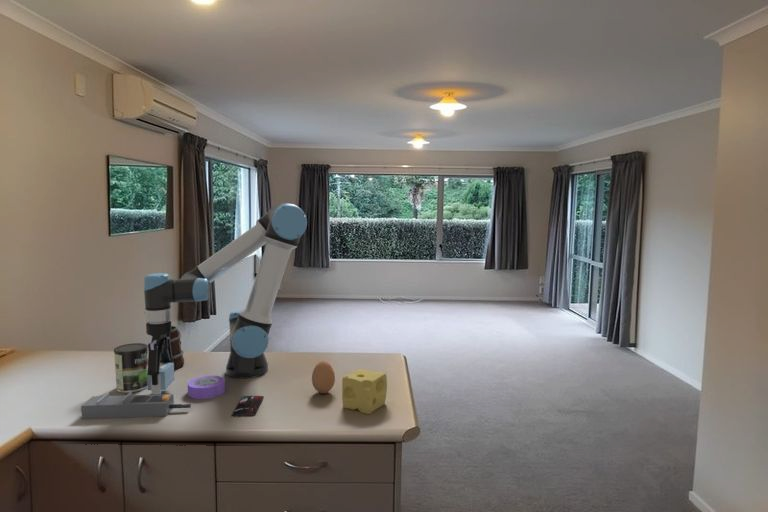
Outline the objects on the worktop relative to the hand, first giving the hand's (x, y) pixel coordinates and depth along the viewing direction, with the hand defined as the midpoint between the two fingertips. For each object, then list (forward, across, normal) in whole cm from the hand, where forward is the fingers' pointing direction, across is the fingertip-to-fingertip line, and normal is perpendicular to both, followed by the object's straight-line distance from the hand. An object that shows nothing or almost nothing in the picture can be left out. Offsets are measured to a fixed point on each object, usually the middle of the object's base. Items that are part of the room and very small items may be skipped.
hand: (161, 388), depth 169 cm
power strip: (+2, +14, -2) cm, 14 cm away
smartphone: (+3, +12, +30) cm, 33 cm away
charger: (-1, 0, 0) cm, 1 cm away
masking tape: (+2, -1, +14) cm, 14 cm away
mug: (+2, -30, -7) cm, 31 cm away
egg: (+2, +3, +53) cm, 53 cm away
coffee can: (+2, -7, -12) cm, 14 cm away
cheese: (+2, +14, +66) cm, 68 cm away
